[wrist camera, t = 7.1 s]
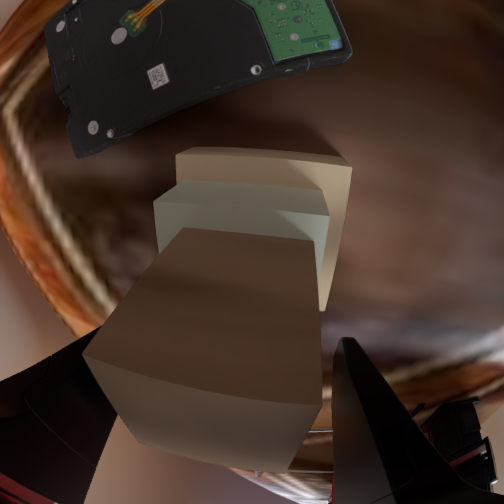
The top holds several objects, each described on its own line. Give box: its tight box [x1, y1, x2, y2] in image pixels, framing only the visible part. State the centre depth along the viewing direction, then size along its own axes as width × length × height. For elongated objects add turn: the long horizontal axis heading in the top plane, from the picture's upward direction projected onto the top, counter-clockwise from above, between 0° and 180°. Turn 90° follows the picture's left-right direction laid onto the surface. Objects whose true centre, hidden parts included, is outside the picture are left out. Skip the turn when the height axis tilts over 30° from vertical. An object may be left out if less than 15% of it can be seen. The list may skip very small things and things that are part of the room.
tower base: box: [176, 147, 352, 311], centre depth 14 cm, size 8×8×3 cm
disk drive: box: [44, 0, 353, 159], centre depth 10 cm, size 10×3×15 cm
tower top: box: [153, 180, 330, 281], centre depth 12 cm, size 6×6×3 cm
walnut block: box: [82, 227, 322, 474], centre depth 8 cm, size 4×4×6 cm
